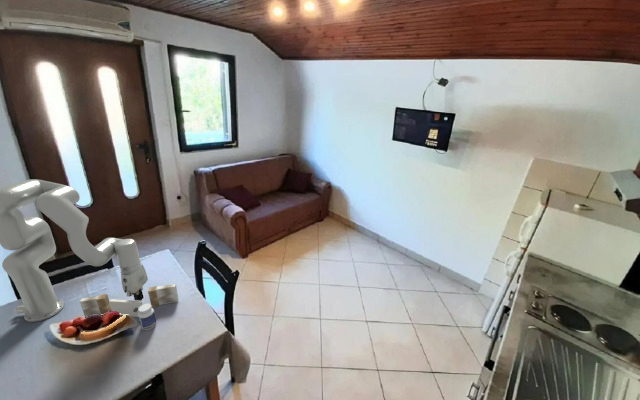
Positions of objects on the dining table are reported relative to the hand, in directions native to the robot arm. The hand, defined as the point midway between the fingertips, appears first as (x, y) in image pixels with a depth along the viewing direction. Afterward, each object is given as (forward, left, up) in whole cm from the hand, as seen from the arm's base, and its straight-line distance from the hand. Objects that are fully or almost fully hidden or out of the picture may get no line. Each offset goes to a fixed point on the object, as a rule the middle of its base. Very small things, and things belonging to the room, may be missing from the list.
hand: (139, 299), depth 122 cm
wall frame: (-3, 0, -4) cm, 5 cm away
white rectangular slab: (-4, -5, -4) cm, 8 cm away
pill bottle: (+6, -13, -4) cm, 15 cm away
